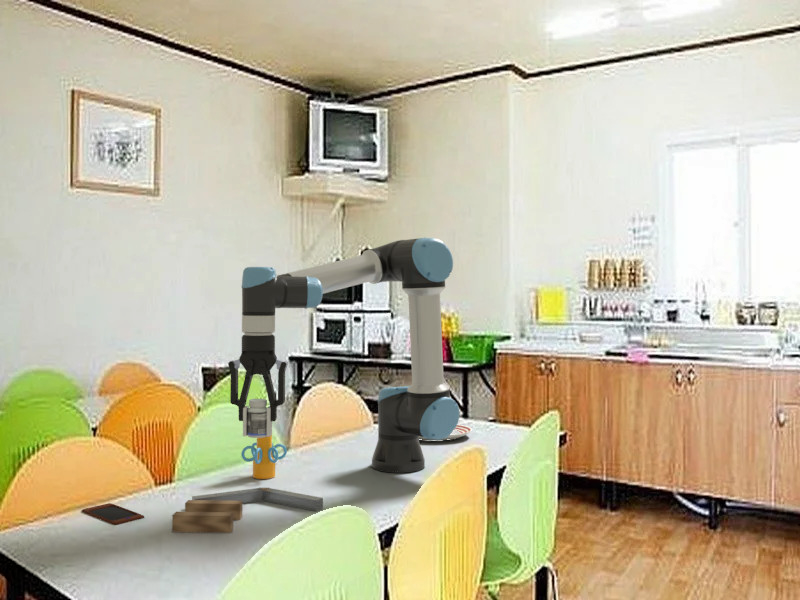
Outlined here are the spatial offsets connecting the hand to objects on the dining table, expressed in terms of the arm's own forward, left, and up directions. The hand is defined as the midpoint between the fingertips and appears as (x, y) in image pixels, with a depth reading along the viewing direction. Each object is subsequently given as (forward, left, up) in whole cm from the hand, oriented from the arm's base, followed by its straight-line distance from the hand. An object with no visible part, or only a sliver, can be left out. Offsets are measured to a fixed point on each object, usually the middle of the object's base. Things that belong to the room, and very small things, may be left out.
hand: (257, 435), depth 169 cm
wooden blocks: (+8, +12, -17) cm, 22 cm away
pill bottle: (0, 0, -1) cm, 1 cm away
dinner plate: (-44, -88, -17) cm, 100 cm away
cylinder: (+4, -29, -17) cm, 34 cm away
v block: (0, -3, -17) cm, 17 cm away
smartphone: (+31, +6, -18) cm, 36 cm away
